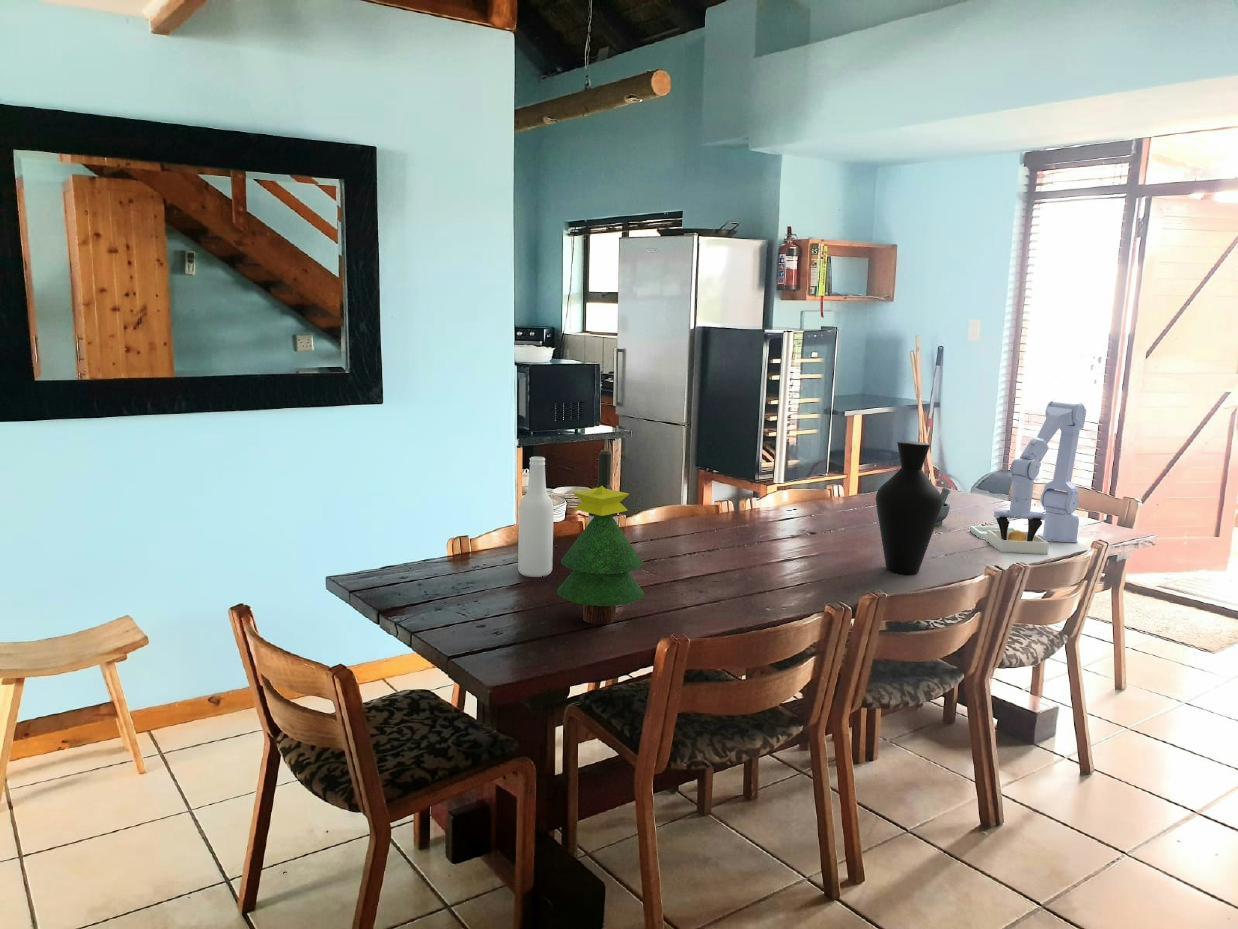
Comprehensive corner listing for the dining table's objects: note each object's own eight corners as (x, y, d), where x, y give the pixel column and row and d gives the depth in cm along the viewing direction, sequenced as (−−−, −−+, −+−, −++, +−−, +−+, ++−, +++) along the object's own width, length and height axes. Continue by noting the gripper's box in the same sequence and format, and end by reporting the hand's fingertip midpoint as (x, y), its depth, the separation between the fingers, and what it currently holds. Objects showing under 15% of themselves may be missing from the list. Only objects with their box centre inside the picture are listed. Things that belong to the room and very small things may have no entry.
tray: (1013, 533, 306) (1014, 527, 306) (1025, 541, 296) (1025, 535, 296) (969, 531, 307) (970, 525, 307) (979, 538, 297) (980, 533, 297)
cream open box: (1030, 542, 294) (1031, 531, 294) (1047, 554, 281) (1048, 542, 280) (985, 540, 295) (987, 529, 294) (1000, 552, 281) (1002, 540, 281)
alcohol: (520, 567, 248) (522, 454, 243) (553, 568, 248) (556, 455, 242) (515, 576, 239) (517, 459, 234) (550, 578, 239) (553, 461, 234)
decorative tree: (601, 640, 197) (606, 499, 192) (538, 617, 209) (541, 484, 204) (660, 619, 211) (666, 487, 206) (597, 599, 223) (601, 474, 218)
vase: (926, 583, 246) (938, 450, 240) (861, 571, 255) (872, 443, 249) (942, 569, 260) (954, 443, 254) (880, 558, 269) (890, 436, 263)
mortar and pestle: (933, 528, 309) (937, 492, 307) (911, 522, 317) (914, 487, 315) (957, 525, 315) (960, 490, 313) (934, 519, 322) (938, 485, 320)
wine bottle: (594, 564, 253) (597, 453, 248) (581, 556, 260) (584, 448, 255) (621, 561, 257) (626, 452, 252) (608, 553, 264) (611, 447, 259)
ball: (1021, 544, 290) (1023, 528, 289) (1027, 548, 285) (1029, 532, 284) (1004, 544, 290) (1006, 528, 290) (1010, 548, 285) (1012, 532, 285)
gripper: (1001, 499, 282) (996, 543, 284) (1051, 501, 281) (1045, 546, 283) (993, 494, 289) (988, 538, 291) (1041, 497, 288) (1036, 540, 290)
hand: (1016, 541), depth 288 cm, fingers open, 7 cm apart
